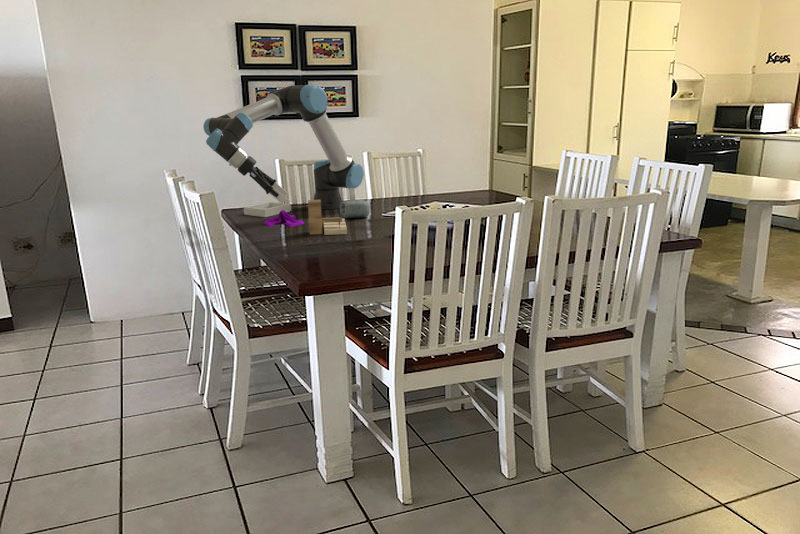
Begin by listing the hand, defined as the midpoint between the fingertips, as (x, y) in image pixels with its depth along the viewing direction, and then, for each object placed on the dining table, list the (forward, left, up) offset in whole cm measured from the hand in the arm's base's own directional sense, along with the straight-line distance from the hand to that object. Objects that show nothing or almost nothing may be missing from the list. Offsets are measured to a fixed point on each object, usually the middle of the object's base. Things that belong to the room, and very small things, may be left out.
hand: (285, 198), depth 250 cm
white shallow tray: (-29, -41, -14) cm, 52 cm away
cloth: (-17, -18, -15) cm, 28 cm away
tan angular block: (-9, +13, -14) cm, 21 cm away
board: (-16, +11, -14) cm, 24 cm away
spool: (-40, +3, -14) cm, 42 cm away
